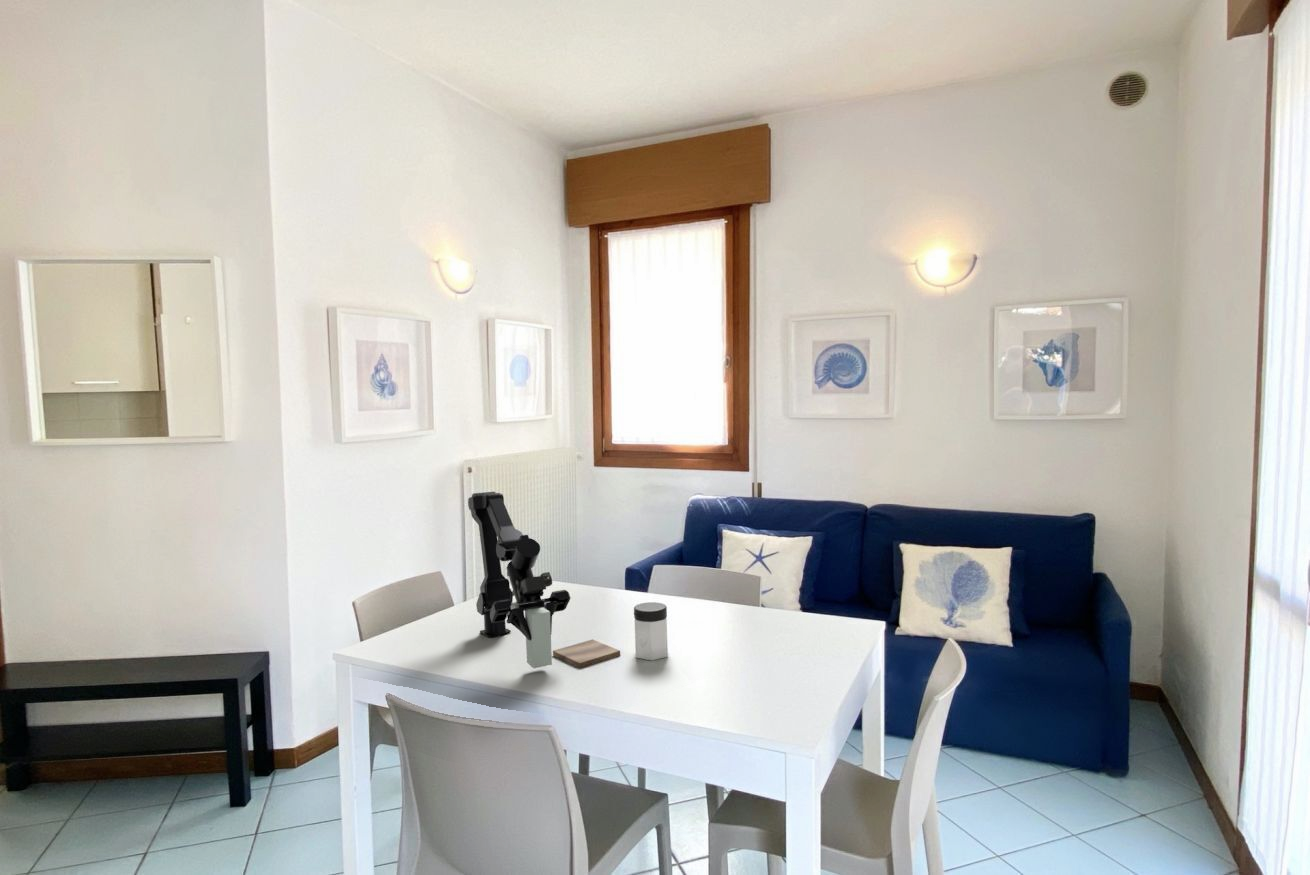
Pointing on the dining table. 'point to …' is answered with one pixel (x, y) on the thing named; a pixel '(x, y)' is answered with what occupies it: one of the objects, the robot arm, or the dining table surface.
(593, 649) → the plate
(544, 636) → the pale green square post
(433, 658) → the dining table surface
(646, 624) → the jar
